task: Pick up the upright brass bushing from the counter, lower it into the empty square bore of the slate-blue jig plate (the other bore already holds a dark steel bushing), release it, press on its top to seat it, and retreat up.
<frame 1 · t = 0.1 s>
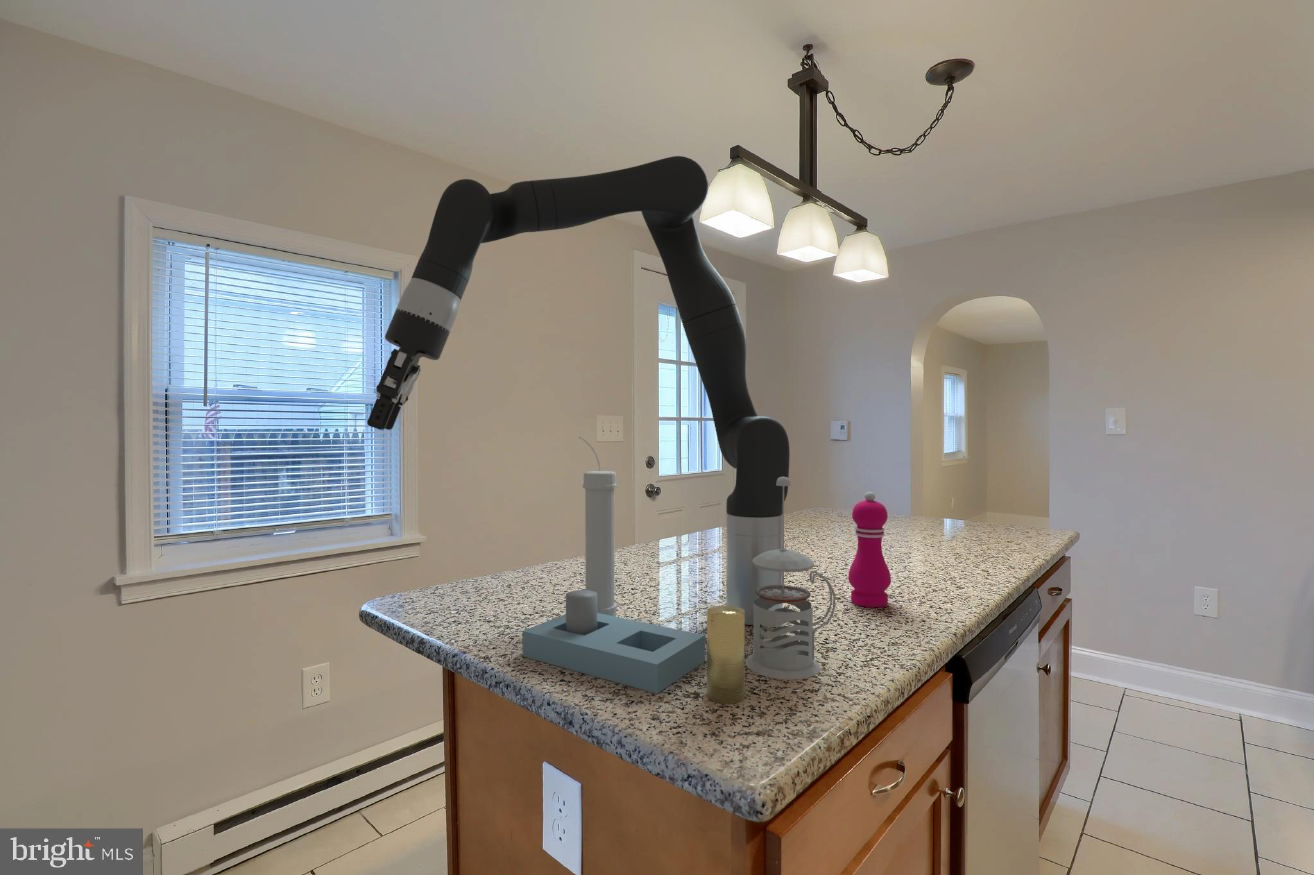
hand: (379, 427, 83), 31 cm above the counter, tool tilted 20°, fingers open, 8 cm apart
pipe: (597, 621, 99), on the counter
bushing: (725, 695, 71), on the counter
pepper mill: (869, 603, 109), on the counter
french press: (789, 665, 81), on the counter
jig: (612, 658, 83), on the counter
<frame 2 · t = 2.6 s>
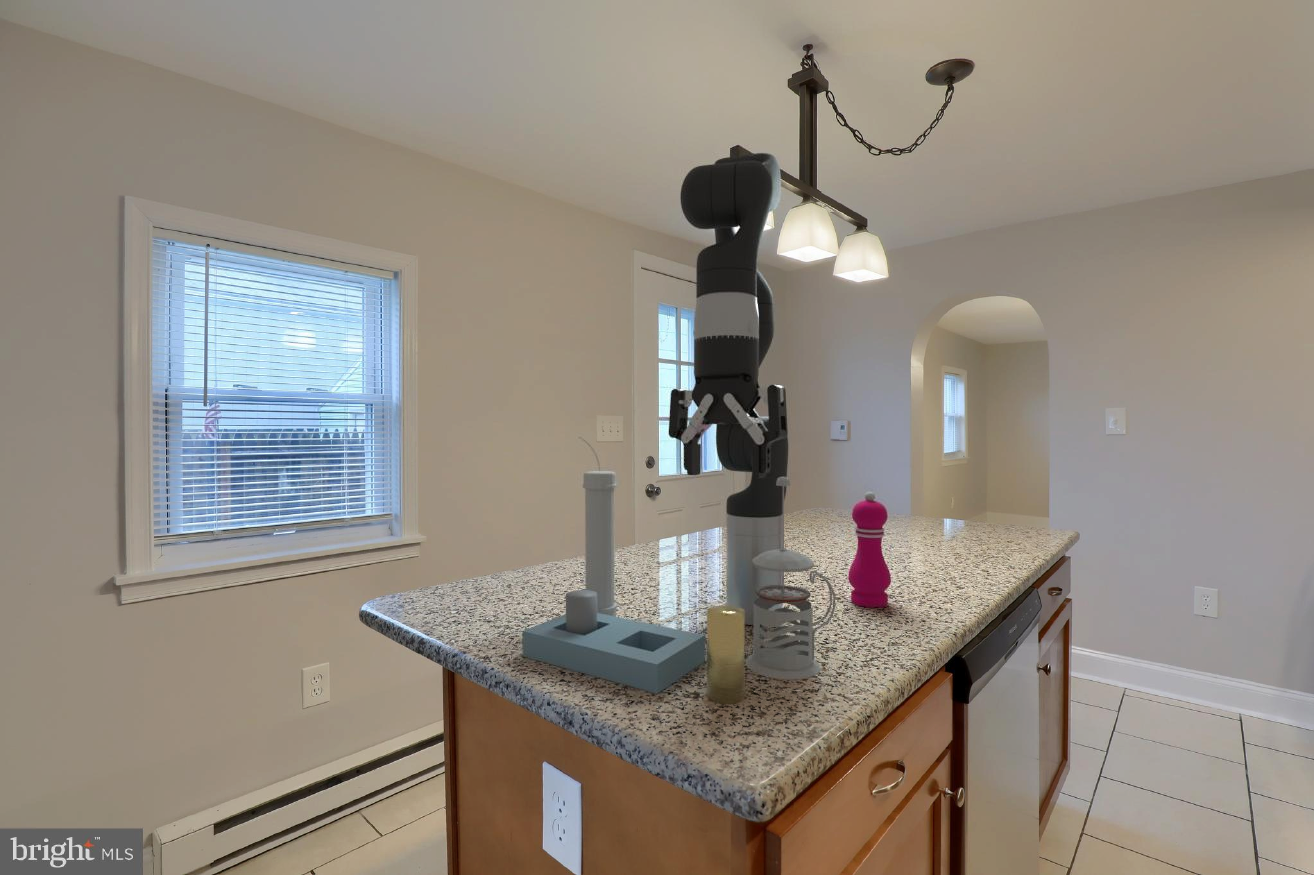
hand: (725, 476, 71), 26 cm above the counter, tool pointing down, fingers open, 8 cm apart
nothing on the counter moved.
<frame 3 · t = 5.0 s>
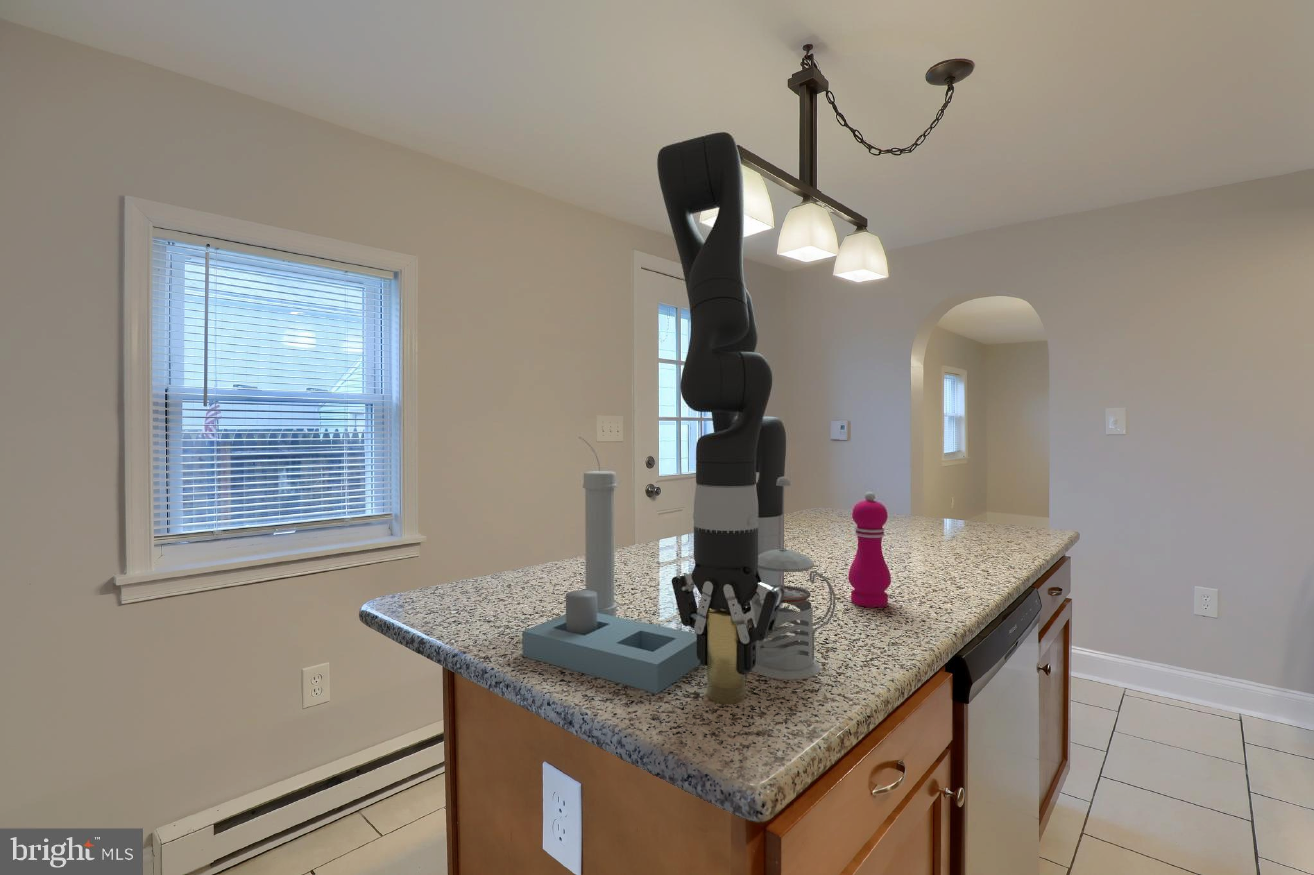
hand: (725, 667, 71), 3 cm above the counter, tool pointing down, fingers closed on bushing, 4 cm apart
bushing: (725, 695, 71), on the counter, touching gripper
everything else where it was.
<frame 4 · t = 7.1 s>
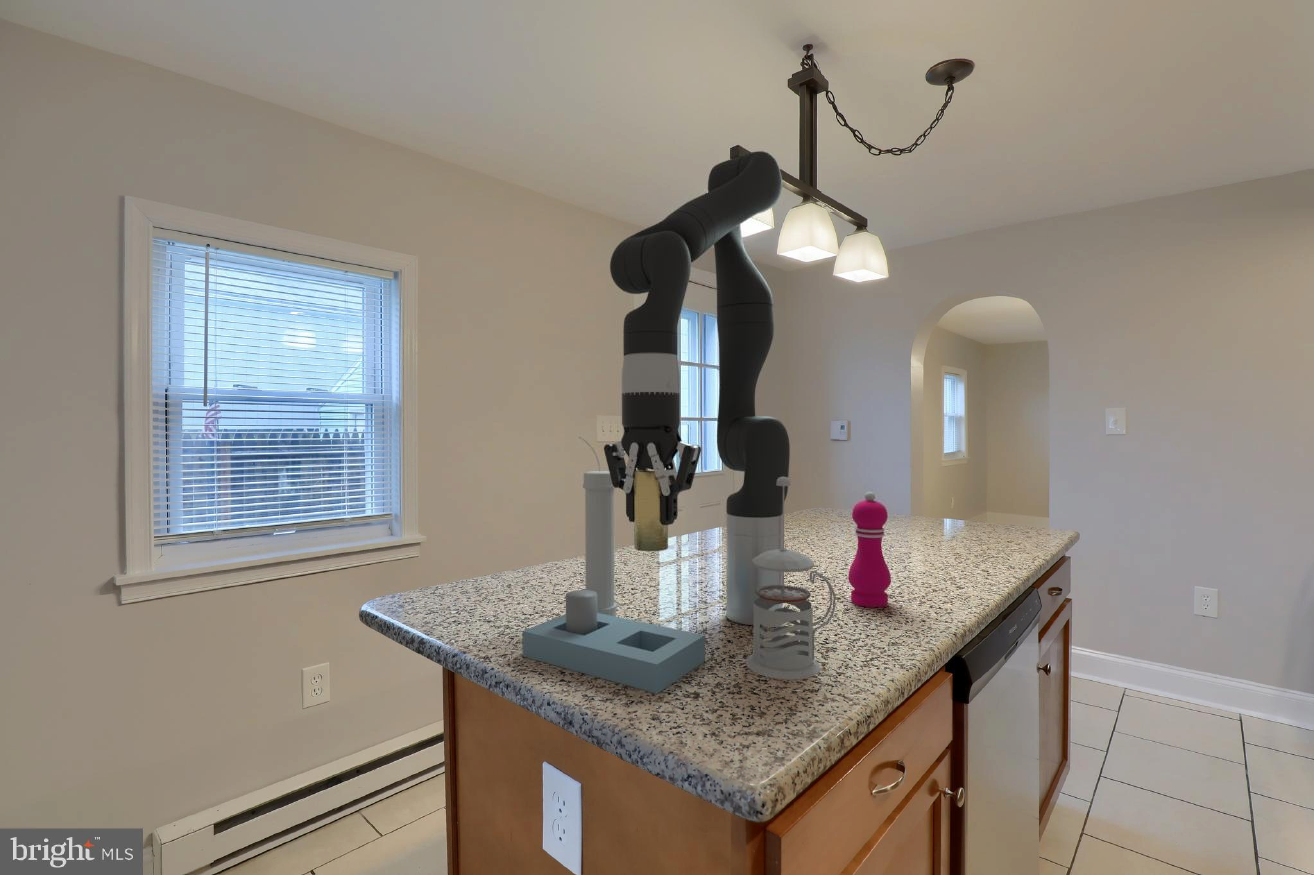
hand: (651, 522, 79), 19 cm above the counter, tool pointing down, fingers closed on bushing, 4 cm apart
bushing: (651, 547, 79), point 16 cm above the counter, touching gripper
everything else where it was.
when the fingers open (5 cm above the counter, at t = 9.6 s): bushing drops 1 cm, resting in jig.
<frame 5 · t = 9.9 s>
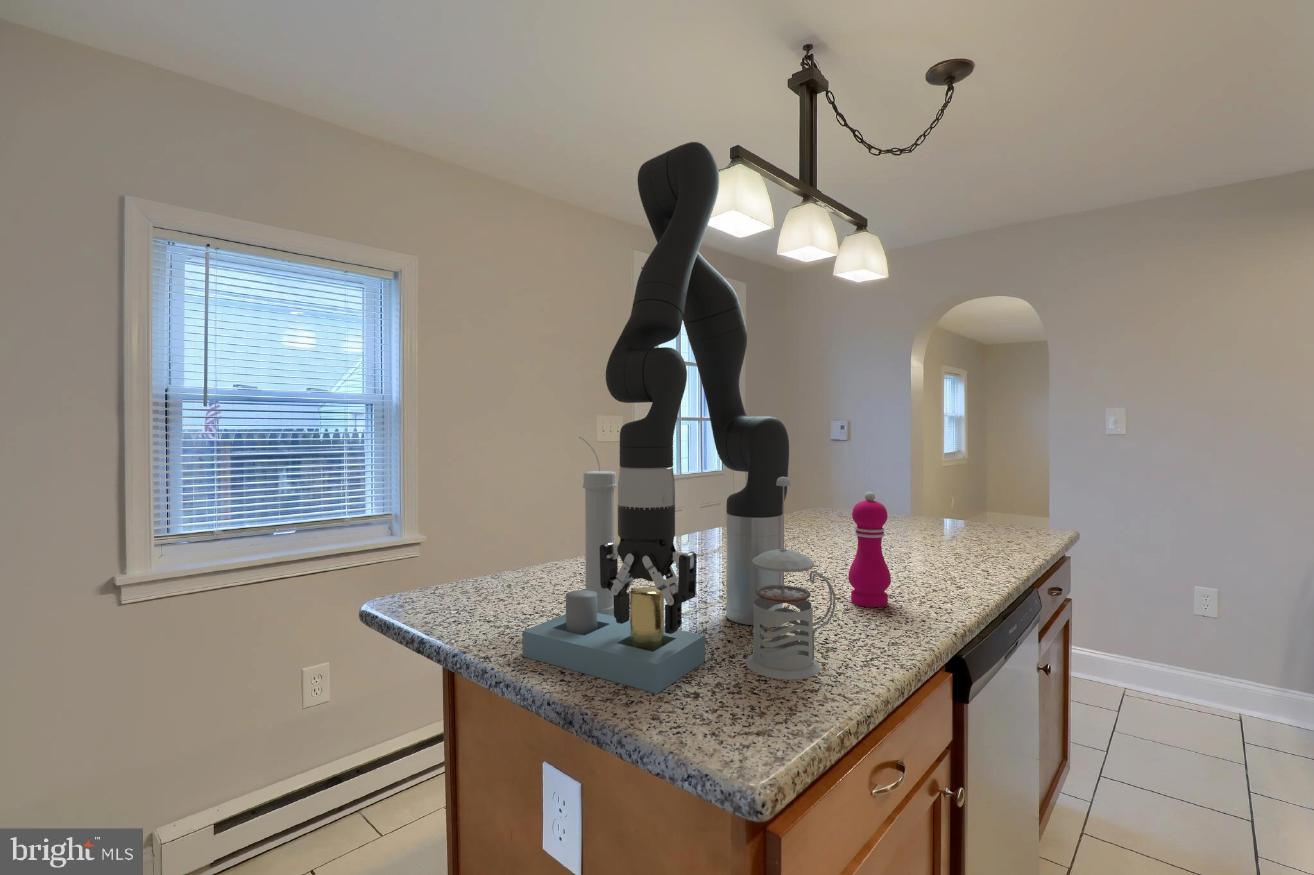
hand: (646, 626, 80), 5 cm above the counter, tool pointing down, fingers open, 7 cm apart
bushing: (647, 667, 80), resting in jig
everything else where it was.
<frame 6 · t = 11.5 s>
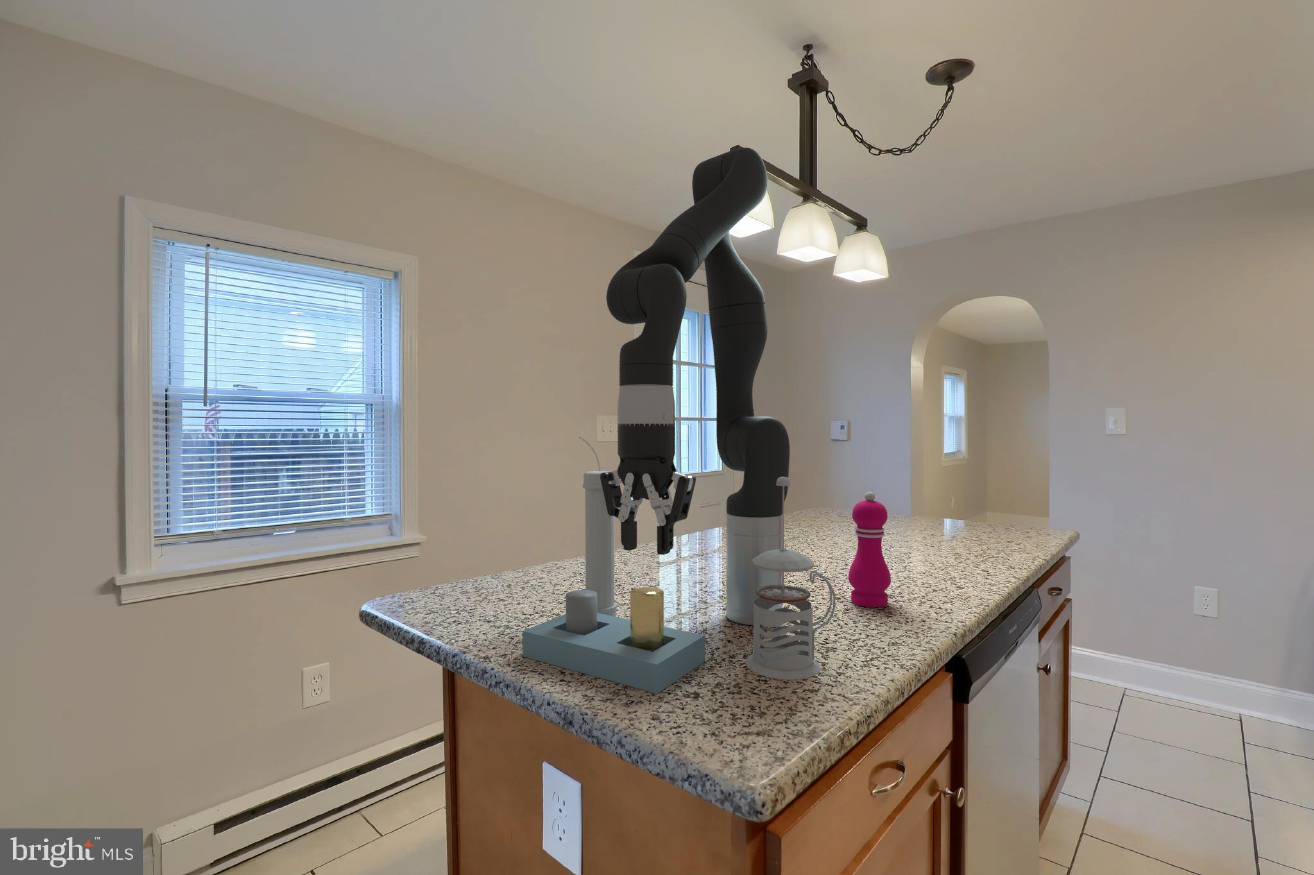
hand: (646, 550, 80), 15 cm above the counter, tool pointing down, fingers open, 4 cm apart
nothing on the counter moved.
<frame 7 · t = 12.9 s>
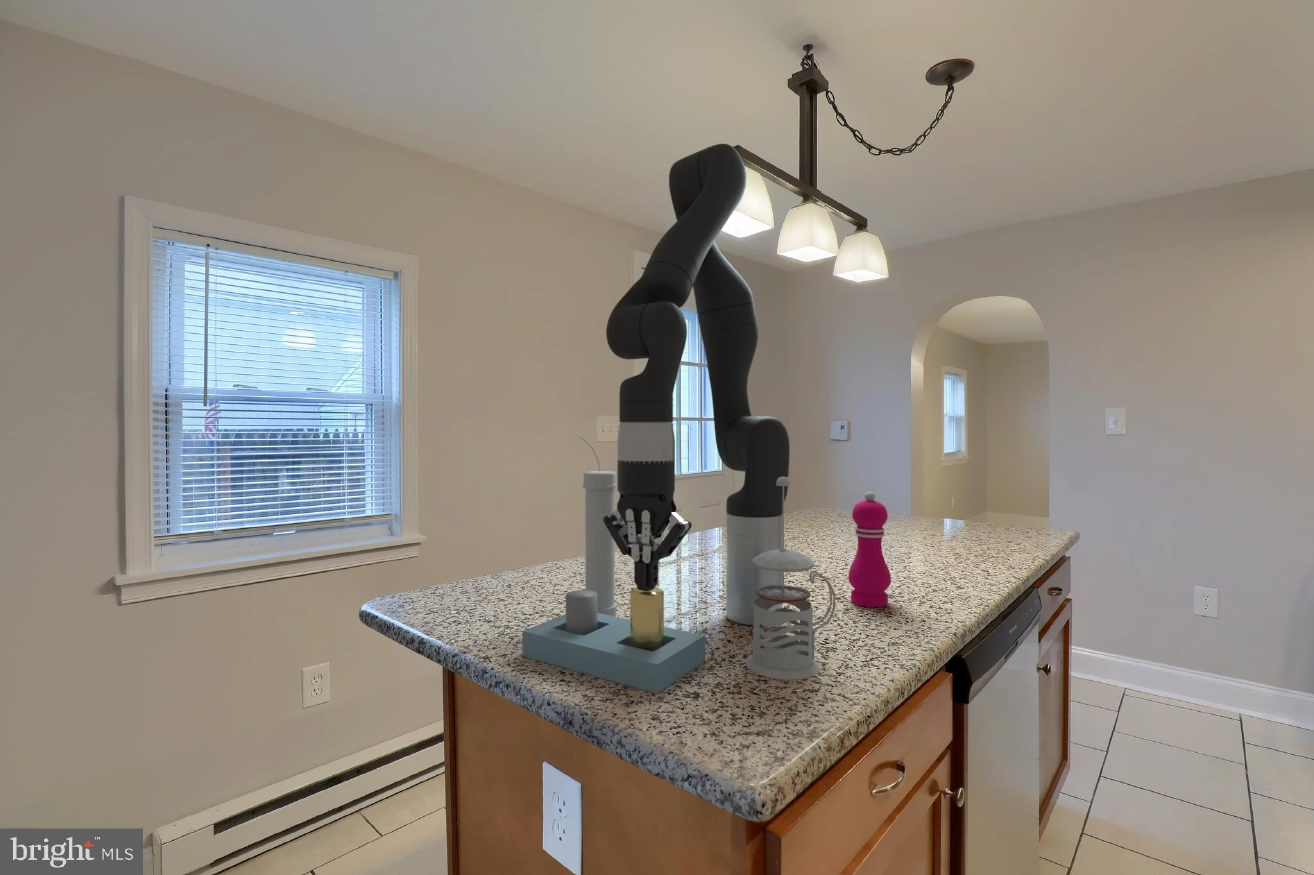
hand: (646, 589, 80), 10 cm above the counter, tool pointing down, fingers closed
nothing on the counter moved.
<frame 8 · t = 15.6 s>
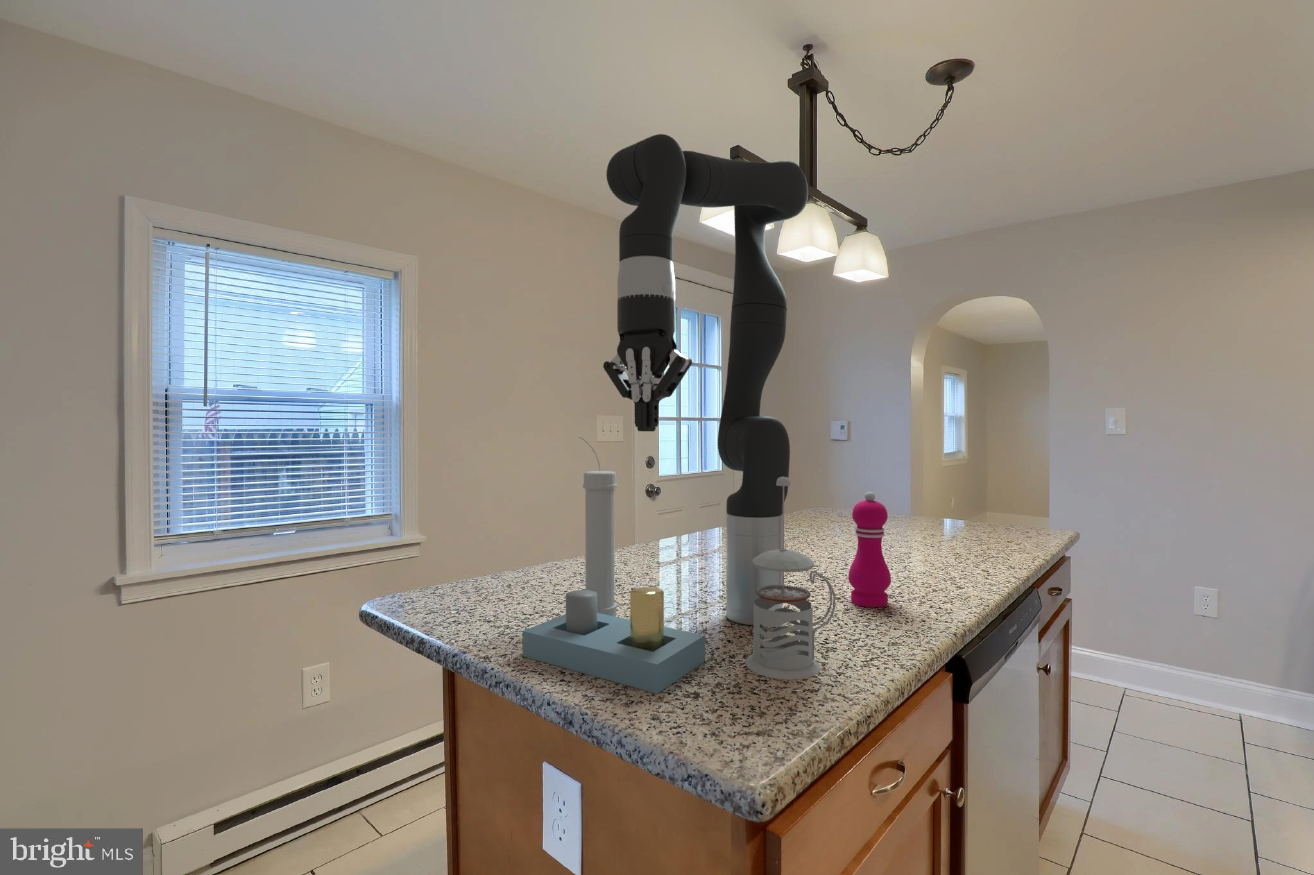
hand: (646, 431, 79), 31 cm above the counter, tool pointing down, fingers closed
nothing on the counter moved.
at the end: bushing 0.1 cm from the target spot on the jig, point 0.0 cm above the jig's base; bushing tilted 0°; the gripper is holding nothing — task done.
